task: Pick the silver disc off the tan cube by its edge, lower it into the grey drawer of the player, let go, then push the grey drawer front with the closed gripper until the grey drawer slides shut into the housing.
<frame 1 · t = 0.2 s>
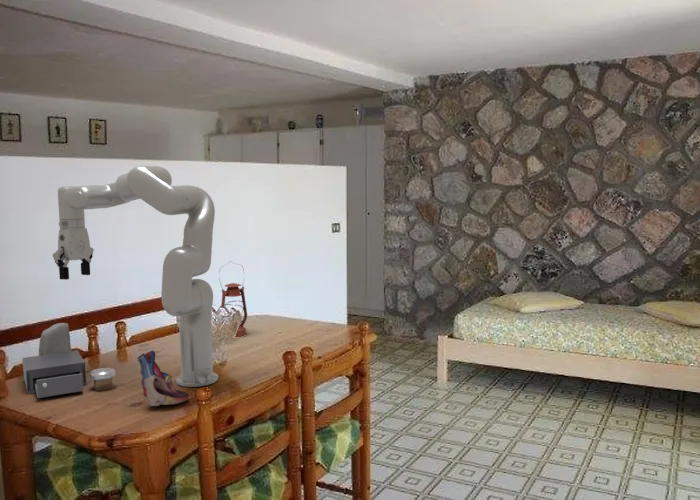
hand: (75, 277, 209), 31 cm above the table, tool pointing down, fingers open, 9 cm apart
disc: (102, 376, 192), point 3 cm above the table, touching tan cube
decorative stone: (55, 368, 214), on the table
lantern: (233, 336, 256), on the table
tan cube: (103, 387, 193), on the table
anatomical model: (165, 405, 177), on the table
housing: (54, 382, 199), on the table
grey drawer: (57, 379, 190), point 4 cm above the table, slide at 8.0 cm
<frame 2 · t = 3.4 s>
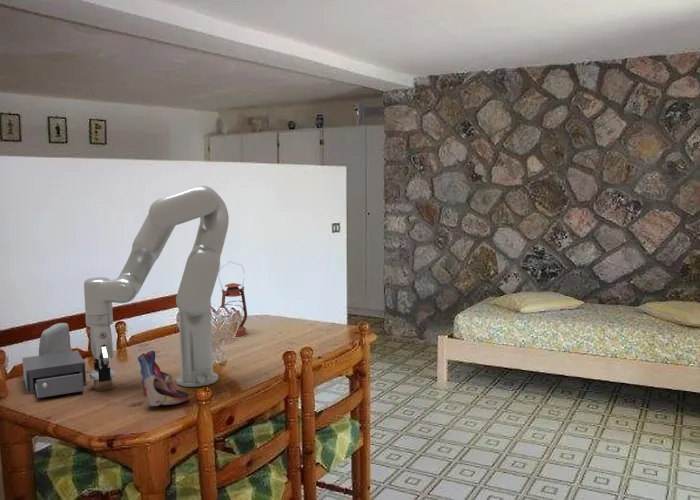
hand: (102, 377, 192), 3 cm above the table, tool pointing down, fingers closed on disc, 7 cm apart
disc: (102, 376, 192), point 4 cm above the table, touching gripper, tan cube
everything else where it was.
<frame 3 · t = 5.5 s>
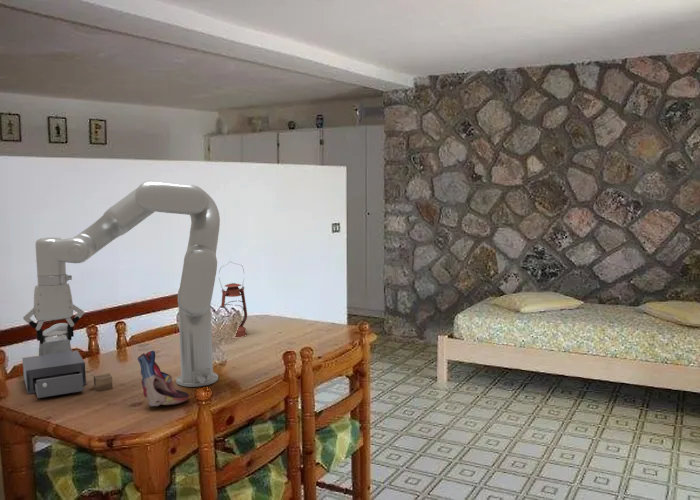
hand: (55, 340, 187), 16 cm above the table, tool pointing down, fingers closed on disc, 6 cm apart
disc: (55, 339, 187), point 16 cm above the table, touching gripper
everything else where it was.
when the fingers open (4 cm above the table, at t = 8.1 s): disc drops 3 cm, resting on grey drawer.
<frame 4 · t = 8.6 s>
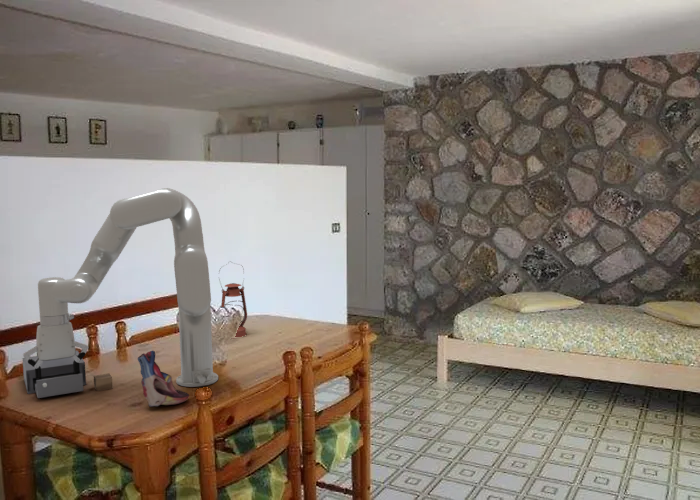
hand: (58, 377, 188), 5 cm above the table, tool pointing down, fingers open, 9 cm apart
disc: (58, 387, 188), point 2 cm above the table, touching grey drawer
grey drawer: (57, 379, 190), point 4 cm above the table, slide at 8.0 cm, touching disc
everything else where it was.
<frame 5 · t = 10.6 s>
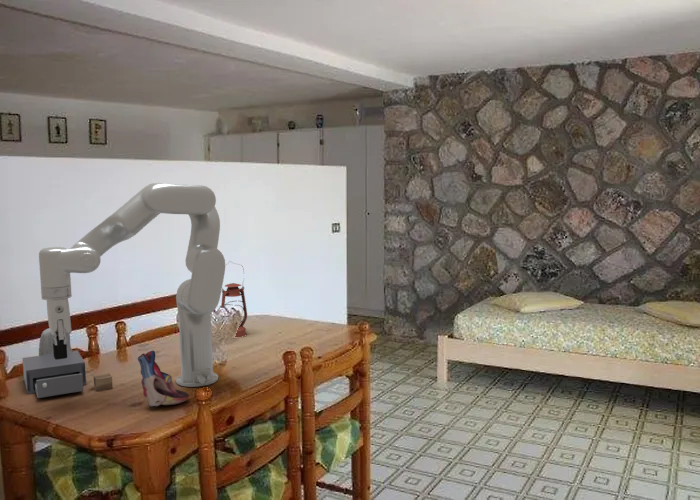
hand: (60, 357, 178), 13 cm above the table, tool pointing down, fingers closed
nothing on the table moved.
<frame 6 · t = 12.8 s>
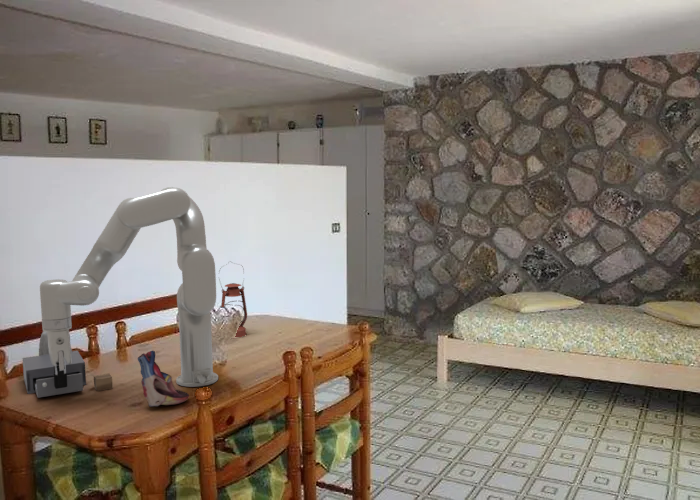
hand: (60, 387, 182), 4 cm above the table, tool pointing down, fingers closed
grey drawer: (57, 378, 190), point 4 cm above the table, slide at 7.6 cm, touching disc, gripper
everything else where it was.
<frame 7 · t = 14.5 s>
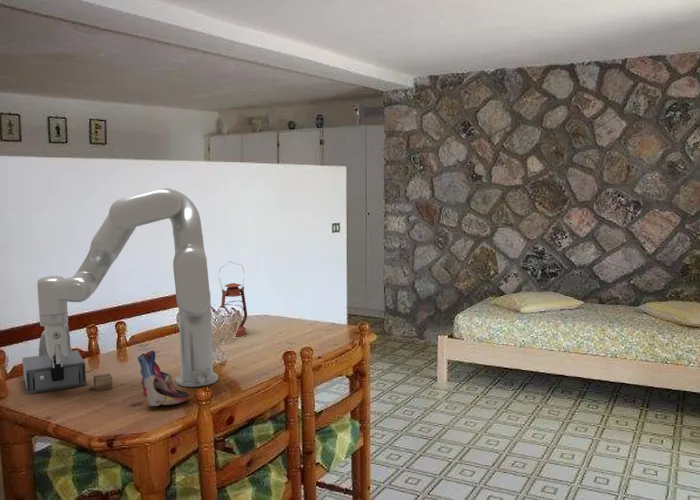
hand: (57, 380, 189), 4 cm above the table, tool pointing down, fingers closed
disc: (55, 380, 195), point 2 cm above the table, touching grey drawer
grey drawer: (54, 372, 197), point 4 cm above the table, slide at -0.1 cm, touching disc, gripper
everything else where it was.
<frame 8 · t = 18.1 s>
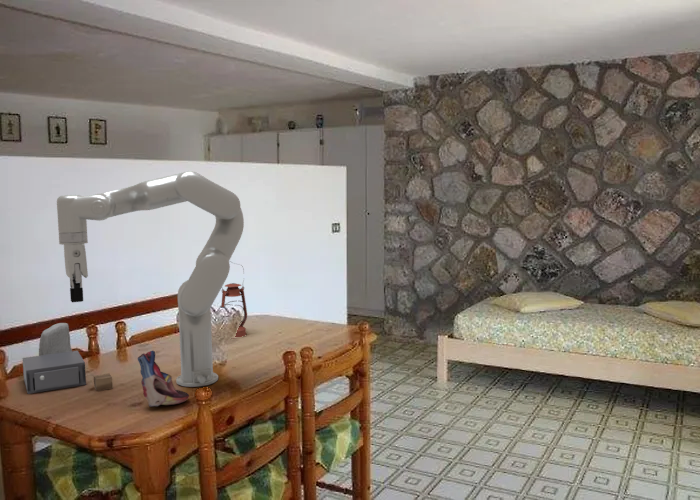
hand: (77, 301, 186), 27 cm above the table, tool pointing down, fingers closed
grey drawer: (54, 372, 197), point 4 cm above the table, slide at 0.0 cm, touching disc
everything else where it was.
at the end: grey drawer slide at 0.0 cm; disc inside the target area on the housing (3.6 cm from its centre), point 1.7 cm above the housing's base; the gripper is holding nothing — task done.
